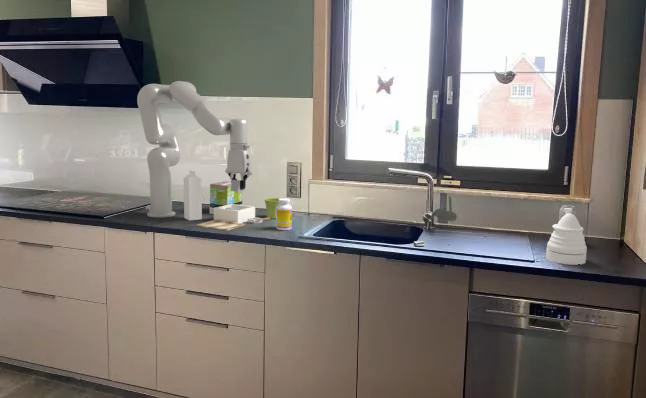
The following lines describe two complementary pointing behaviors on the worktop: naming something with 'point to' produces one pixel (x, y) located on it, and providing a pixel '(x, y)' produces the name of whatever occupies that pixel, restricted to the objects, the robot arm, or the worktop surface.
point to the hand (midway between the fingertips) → (238, 188)
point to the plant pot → (271, 207)
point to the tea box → (223, 195)
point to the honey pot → (567, 241)
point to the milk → (192, 197)
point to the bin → (234, 213)
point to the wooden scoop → (257, 220)
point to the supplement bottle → (284, 215)
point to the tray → (220, 225)
